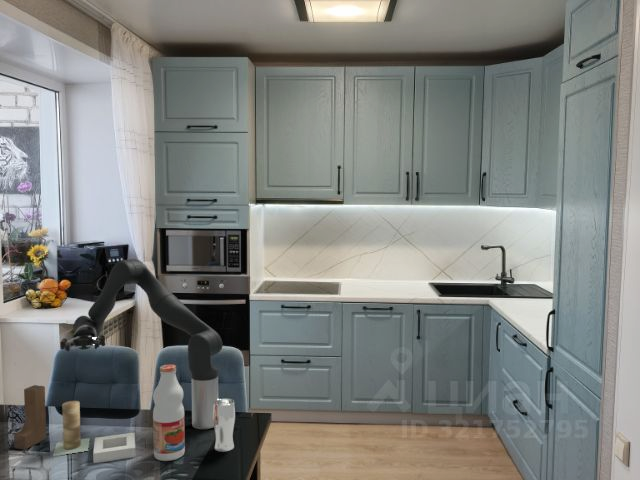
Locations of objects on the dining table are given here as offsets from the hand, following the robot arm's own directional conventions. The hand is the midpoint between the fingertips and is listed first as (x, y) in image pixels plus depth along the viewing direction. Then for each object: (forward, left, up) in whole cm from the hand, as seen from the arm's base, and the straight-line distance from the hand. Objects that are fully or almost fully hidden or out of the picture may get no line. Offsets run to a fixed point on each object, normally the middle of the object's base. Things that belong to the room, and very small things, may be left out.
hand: (82, 347), depth 182 cm
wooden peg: (+3, +10, -30) cm, 31 cm away
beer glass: (-43, +27, -30) cm, 59 cm away
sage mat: (+3, +10, -30) cm, 32 cm away
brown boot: (+16, +2, -30) cm, 34 cm away
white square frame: (-10, +18, -30) cm, 36 cm away
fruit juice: (-26, +26, -30) cm, 48 cm away
